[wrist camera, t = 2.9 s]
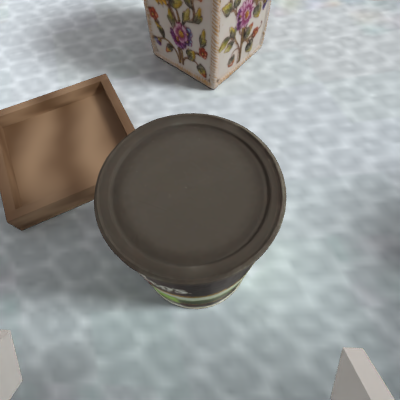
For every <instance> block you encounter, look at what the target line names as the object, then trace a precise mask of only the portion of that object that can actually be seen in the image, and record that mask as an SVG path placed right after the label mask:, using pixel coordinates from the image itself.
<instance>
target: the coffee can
mask: <svg viewBox="0 0 400 400" xmlns="http://www.w3.org/2000/svg"><path fill="white" fill-rule="evenodd" d="M285 206H286V187H285V182H284V177H283V174H282V171H281V169H280V166H279V164H278V162H277V160H276V158H275V157H274V155H273V154H272V152H271V151H270V150H269V148H268V147H267V146H266V145H265V144H264V143H263V142H262V140H261V139H259V138H258V137H257V136H256V135H255V134H254V133H252V132H251V131H249V130H248V129H247V128H245V127H243V126H241V125H240V124H237V123H235V122H233V121H230V120H228V119H225V118H221V117H218V116H214V115H208V114H195V113H191V114H178V115H171V116H167V117H163V118H159V119H156V120H153V121H151V122H149V123H146V124H144V125H142V126H140V127H139V128H137V129H135V130H134V131H132V132H131V133H130V134H128V135H127V136H126V137H125V138H124V139H123V140H121V141H120V142H119V143H118V144H117V145H116V147H115V148H114V149H113V150H112V151H111V152H110V154H109V155H108V157H107V158H106V160H105V161H104V163H103V165H102V167H101V169H100V172H99V175H98V178H97V182H96V186H95V193H94V209H95V216H96V221H97V224H98V227H99V229H100V231H101V234H102V236H103V238H104V239H105V241H106V242H107V244H108V245H109V247H110V248H111V250H112V251H113V252H114V253H115V254H116V255H117V256H118V257H119V258H120V259H121V260H122V261H123V262H124V263H125V264H127V265H128V266H129V267H130V268H132V269H134V270H135V271H137V272H138V273H139V274H140V275H141V276H142V277H144V278H145V279H146V280H147V281H148V282H149V283H150V284H151V285H152V286H153V288H154V289H155V290H156V292H157V293H158V294H159V295H161V296H162V297H163V298H164V299H165V300H167V301H169V302H170V303H172V304H175V305H177V306H180V307H183V308H189V309H202V308H207V307H211V306H214V305H216V304H218V303H220V302H222V301H224V300H225V299H227V298H228V297H229V296H230V295H231V294H232V293H233V292H234V291H235V290H236V289H237V288H238V286H239V285H240V283H241V281H242V279H243V278H244V276H245V275H246V274H247V272H248V271H249V270H250V268H251V267H252V265H253V264H254V263H255V261H257V260H258V259H259V258H260V257H261V256H262V255H263V254H264V253H265V251H266V250H267V249H268V247H269V246H270V245H271V243H272V242H273V240H274V239H275V237H276V235H277V233H278V231H279V229H280V227H281V224H282V221H283V217H284V214H285Z"/></svg>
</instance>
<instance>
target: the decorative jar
mask: <svg viewBox="0 0 400 400" xmlns="http://www.w3.org/2000/svg"><path fill="white" fill-rule="evenodd" d="M270 5H271V0H144V6H145V11H146V16H147V22H148V27H149V32H150V38H151V42H152V47H153V52H154V54H155V55H157V56H158V57H160V58H161V59H163V60H165V61H167V62H168V63H170V64H171V65H173V66H175V67H177V68H178V69H180V70H181V71H183V72H185V73H186V74H188V75H190V76H191V77H193V78H195V79H196V80H198V81H200V82H201V83H203V84H205V85H206V86H208V87H210V88H211V89H215V88H216V87H218V85H220V84H221V83H222V82H223V81H224V80H226V79H227V78H228V77H229V76H230V75H231V74H232V73H233V72H235V71H236V70H237V69H238V68H239V67H240V66H241V65H242V64H243V63H244V62H245V61H247V60H248V59H249V58H250V57H251V56H252V55H253V54H254V53H256V52H257V51H258V50H259V49H260V48H261V46H262V44H263V40H264V35H265V31H266V26H267V21H268V16H269V11H270Z"/></svg>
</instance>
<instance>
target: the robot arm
mask: <svg viewBox="0 0 400 400" xmlns="http://www.w3.org/2000/svg"><path fill="white" fill-rule="evenodd" d="M22 381H23V379H22V375H21V371H20V367H19V363H18V359H17V355H16V351H15V347H14V343H13V339H12V335H11V331H10V330H0V400H10V399H11V397H12V396H13V394H14V393H15V391H16V390H17V388H18V387H19V386H20V384H21V383H22ZM330 399H331V400H395V399H394V398H393V396H392V394H391V393H390V391H389V390H388V388H387V386H386V385H385V383H384V381H383V380H382V378H381V377H380V375H379V373H378V372H377V370H376V368H375V367H374V365H373V364H372V362H371V360H370V359H369V357H368V355H367V354H366V352H365V351H364V349H363V348H347V347H343V349H342V353H341V357H340V361H339V365H338V369H337V373H336V377H335V381H334V386H333V390H332V394H331V398H330Z"/></svg>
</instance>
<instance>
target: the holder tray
mask: <svg viewBox="0 0 400 400" xmlns="http://www.w3.org/2000/svg"><path fill="white" fill-rule="evenodd" d="M134 130H135V129H134V127H133V125H132V123H131V121H130V119H129V117H128V115H127V113H126V111H125V110H124V108H123V106H122V104H121V102H120V100H119V98H118V96H117V94H116V92H115V90H114V88H113V86H112V84H111V83H110V81H109V79H108V77H107V75H106V74H103V75H100V76H98V77H95V78H92V79H89V80H86V81H83V82H80V83H77V84H75V85H72V86H69V87H66V88H63V89H60V90H57V91H54V92H51V93H49V94H46V95H43V96H40V97H37V98H34V99H31V100H28V101H25V102H23V103H20V104H17V105H14V106H11V107H8V108H5V109H2V110H0V192H1V197H2V201H3V206H4V211H5V215H6V220H7V222H8V223H9V224H11V225H13V226H14V227H16V228H18V229H20V230H21V231H22V230H25V229H27V228H29V227H31V226H34V225H36V224H38V223H41V222H43V221H45V220H48V219H50V218H52V217H55V216H57V215H59V214H62V213H64V212H66V211H69V210H71V209H73V208H76V207H78V206H80V205H82V204H85V203H87V202H89V201H92V200H94V193H95V186H96V182H97V178H98V175H99V172H100V169H101V167H102V165H103V163H104V161H105V160H106V158H107V157H108V155H109V154H110V152H111V151H112V150H113V149H114V148H115V147H116V145H117V144H118V143H119V142H120V141H121V140H123V139H124V138H125V137H126V136H127V135H128V134H130V133H131V132H132V131H134Z"/></svg>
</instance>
